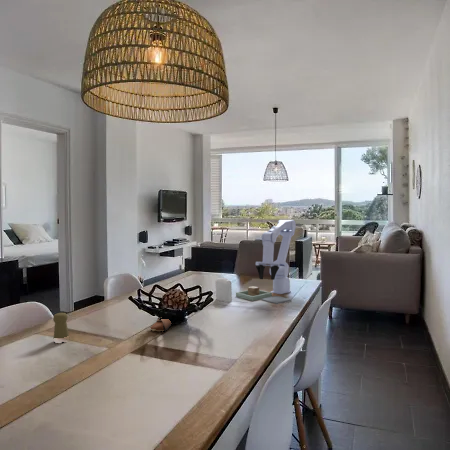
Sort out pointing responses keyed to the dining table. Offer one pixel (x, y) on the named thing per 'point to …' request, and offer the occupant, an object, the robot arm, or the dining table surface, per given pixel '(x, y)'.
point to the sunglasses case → (161, 324)
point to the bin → (245, 295)
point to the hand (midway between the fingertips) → (266, 279)
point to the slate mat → (276, 299)
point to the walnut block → (253, 291)
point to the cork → (60, 325)
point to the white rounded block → (223, 290)
